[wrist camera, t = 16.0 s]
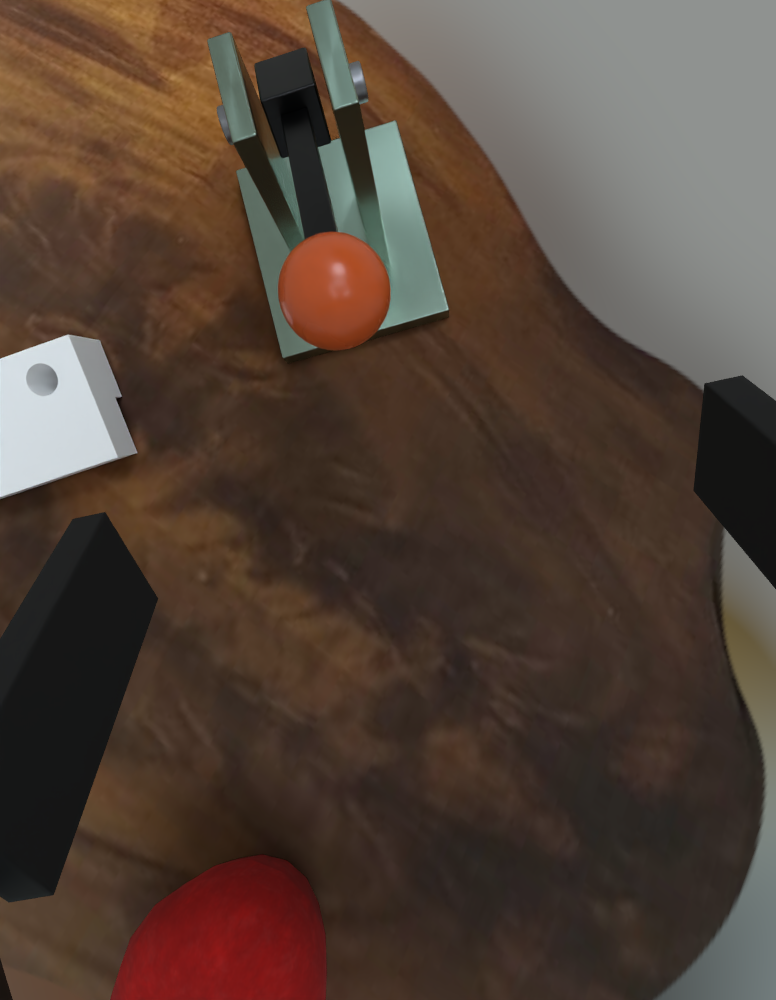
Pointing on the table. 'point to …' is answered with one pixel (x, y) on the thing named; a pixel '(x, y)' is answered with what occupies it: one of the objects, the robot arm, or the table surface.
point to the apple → (230, 938)
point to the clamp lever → (318, 221)
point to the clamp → (331, 185)
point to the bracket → (58, 413)
